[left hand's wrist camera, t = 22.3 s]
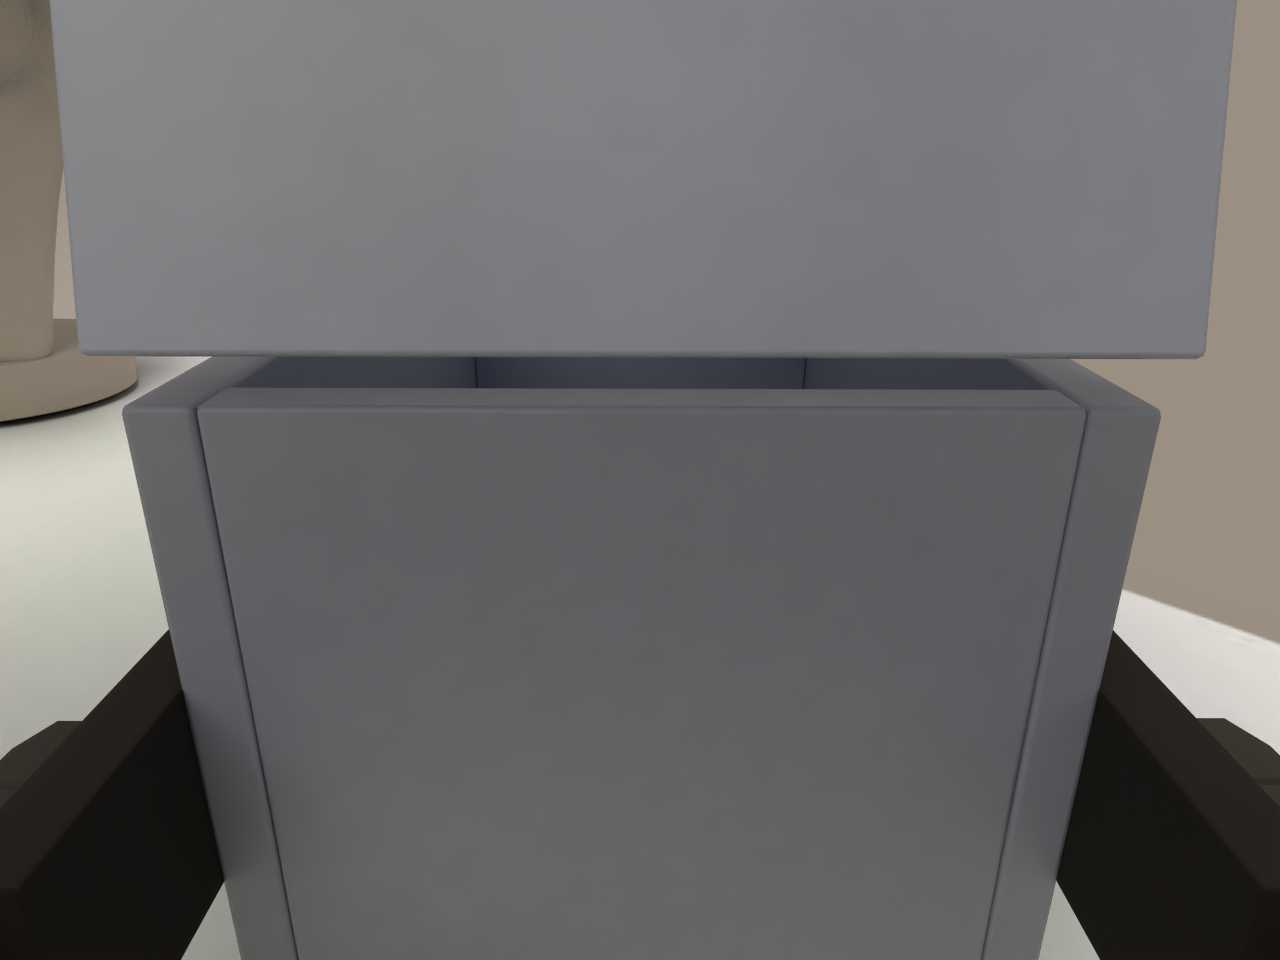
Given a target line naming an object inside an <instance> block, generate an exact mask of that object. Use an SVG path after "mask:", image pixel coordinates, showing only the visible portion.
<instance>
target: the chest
mask: <svg viewBox="0 0 1280 960" xmlns="http://www.w3.org/2000/svg"><path fill="white" fill-rule="evenodd" d="M122 415H123V420H124V425H125V429H126V434H127V438H128V443H129V447H130V452H131V457H132V461H133V466H134V470H135V475H136V480H137V484H138V489H139V493H140V498H141V502H142V507H143V512H144V516H145V521H146V525H147V530H148V534H149V539H150V544H151V548H152V553H153V557H154V562H155V566H156V571H157V576H158V580H159V585H160V589H161V594H162V598H163V603H164V608H165V612H166V617H167V621H168V626H169V630H170V635H171V640H172V644H173V649H174V653H175V658H176V663H177V667H178V672H179V676H180V681H181V685H182V690H183V695H184V699H185V704H186V708H187V713H188V717H189V722H190V727H191V731H192V736H193V740H194V745H195V749H196V754H197V759H198V763H199V768H200V772H201V777H202V781H203V786H204V790H205V795H206V799H207V804H208V808H209V813H210V817H211V822H212V826H213V831H214V835H215V840H216V844H217V849H218V854H219V858H220V863H221V867H222V872H223V876H224V882H225V887H226V891H227V896H228V900H229V905H230V910H231V914H232V919H233V923H234V928H235V932H236V937H237V942H238V946H239V951H240V955H241V960H1038V958H1039V954H1040V949H1041V945H1042V940H1043V936H1044V932H1045V927H1046V923H1047V918H1048V914H1049V910H1050V905H1051V901H1052V896H1053V892H1054V887H1055V883H1056V879H1057V874H1058V870H1059V865H1060V861H1061V856H1062V852H1063V848H1064V843H1065V839H1066V834H1067V830H1068V826H1069V821H1070V817H1071V812H1072V808H1073V803H1074V799H1075V795H1076V790H1077V786H1078V781H1079V777H1080V772H1081V768H1082V764H1083V759H1084V755H1085V750H1086V746H1087V741H1088V737H1089V732H1090V728H1091V723H1092V719H1093V714H1094V710H1095V705H1096V701H1097V696H1098V692H1099V688H1100V684H1101V680H1102V675H1103V671H1104V666H1105V662H1106V658H1107V653H1108V649H1109V644H1110V640H1111V635H1112V631H1113V627H1114V622H1115V618H1116V613H1117V609H1118V605H1119V600H1120V596H1121V591H1122V587H1123V582H1124V578H1125V573H1126V569H1127V565H1128V560H1129V556H1130V551H1131V547H1132V543H1133V538H1134V534H1135V529H1136V525H1137V521H1138V516H1139V512H1140V507H1141V503H1142V498H1143V494H1144V489H1145V485H1146V481H1147V476H1148V472H1149V467H1150V463H1151V459H1152V454H1153V450H1154V445H1155V441H1156V436H1157V432H1158V428H1159V423H1160V418H1161V415H1160V411H1159V409H1157V408H1156V407H1154V406H1152V405H1150V404H1149V403H1147V402H1145V401H1143V400H1142V399H1140V398H1138V397H1136V396H1134V395H1133V394H1131V393H1129V392H1127V391H1126V390H1124V389H1122V388H1120V387H1119V386H1117V385H1115V384H1113V383H1112V382H1110V381H1108V380H1106V379H1104V378H1103V377H1101V376H1099V375H1097V374H1096V373H1094V372H1092V371H1090V370H1089V369H1087V368H1085V367H1083V366H1082V365H1080V364H1078V363H1076V362H1074V361H1073V360H1071V359H963V358H610V357H258V356H213V357H211V358H209V359H207V360H206V361H204V362H202V363H200V364H199V365H197V366H195V367H193V368H191V369H190V370H188V371H186V372H184V373H183V374H181V375H179V376H177V377H175V378H174V379H172V380H170V381H168V382H167V383H165V384H163V385H161V386H160V387H158V388H156V389H154V390H152V391H151V392H149V393H147V394H145V395H144V396H142V397H140V398H138V399H136V400H135V401H133V402H131V403H129V404H128V405H126V406H124V408H123V413H122Z"/></svg>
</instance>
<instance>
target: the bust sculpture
mask: <svg viewBox="0 0 1280 960" xmlns="http://www.w3.org/2000/svg"><path fill="white" fill-rule="evenodd" d="M62 174H63V155H62V143H61V131H60V119H59V107H58V95H57V83H56V71H55V59H54V47H53V35H52V23H51V11H50V0H0V421H6V420H13V419H20V418H26V417H31V416H37V415H42V414H48V413H52V412H57V411H61V410H66V409H70V408H74V407H78V406H82V405H85V404H89V403H92V402H95V401H98V400H101V399H104V398H107V397H110V396H112V395H115V394H117V393H119V392H121V391H123V390H125V389H127V388H128V387H130V386H131V385H132V384H134V383H135V381H136V380H137V377H138V375H137V370H136V365H135V360H134V356H86V355H84V354H82V353H80V350H79V346H78V334H77V322H76V319H53V299H54V264H55V245H56V230H57V229H56V228H57V214H58V204H59V196H60V187H61V181H62Z"/></svg>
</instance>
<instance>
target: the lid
mask: <svg viewBox="0 0 1280 960" xmlns="http://www.w3.org/2000/svg"><path fill="white" fill-rule="evenodd" d="M1236 3H1237V0H50V11H51V23H52V35H53V47H54V59H55V71H56V83H57V95H58V107H59V119H60V131H61V143H62V155H63V167H64V179H65V190H66V202H67V214H68V226H69V238H70V250H71V262H72V274H73V286H74V298H75V310H76V322H77V334H78V346H79V350H80V353H82V354H84V355H86V356H258V357H610V358H963V359H1198V358H1200V357H1202V356H1203V355H1204V353H1205V348H1206V337H1207V326H1208V315H1209V304H1210V293H1211V281H1212V270H1213V259H1214V248H1215V237H1216V226H1217V215H1218V203H1219V192H1220V181H1221V170H1222V159H1223V148H1224V137H1225V126H1226V115H1227V103H1228V92H1229V81H1230V70H1231V59H1232V48H1233V37H1234V25H1235V14H1236Z"/></svg>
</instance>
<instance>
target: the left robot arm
mask: <svg viewBox="0 0 1280 960" xmlns="http://www.w3.org/2000/svg"><path fill="white" fill-rule="evenodd" d="M1056 881H1057V882H1058V884H1059V886H1060V888H1061V890H1062V892H1063V893H1064V895H1065V897H1066V899H1067V901H1068V902H1069V904H1070V906H1071V908H1072V910H1073V911H1074V913H1075V915H1076V917H1077V919H1078V920H1079V922H1080V924H1081V926H1082V928H1083V929H1084V931H1085V933H1086V935H1087V937H1088V938H1089V940H1090V942H1091V944H1092V946H1093V948H1094V949H1095V951H1096V953H1097V955H1098V957H1099V958H1100V960H1280V755H1279V754H1278V753H1277V752H1276V751H1275V750H1274V749H1273V748H1272V747H1271V746H1269V745H1268V744H1266V743H1264V742H1263V741H1261V740H1259V739H1258V738H1256V737H1254V736H1253V735H1251V734H1249V733H1248V732H1246V731H1244V730H1243V729H1241V728H1239V727H1238V726H1236V725H1234V724H1233V723H1231V722H1230V721H1228V720H1226V719H1225V718H1195V716H1194V715H1193V714H1192V713H1191V712H1190V711H1189V710H1188V709H1187V708H1186V707H1185V706H1184V705H1183V704H1182V703H1181V702H1180V701H1179V700H1178V698H1177V697H1176V696H1175V695H1174V694H1173V693H1172V692H1171V691H1170V690H1169V689H1168V688H1167V687H1166V686H1165V685H1164V684H1163V683H1162V682H1161V680H1160V679H1159V678H1158V677H1157V676H1156V675H1155V674H1154V673H1153V672H1152V671H1151V670H1150V669H1149V668H1148V667H1147V666H1146V665H1145V664H1144V662H1143V661H1142V660H1141V659H1140V658H1139V657H1138V656H1137V655H1136V654H1135V653H1134V652H1133V651H1132V650H1131V649H1130V648H1129V647H1128V646H1127V644H1126V643H1125V642H1124V641H1123V640H1122V639H1121V638H1120V637H1119V636H1118V635H1117V634H1116V633H1115V632H1114V631H1112V635H1111V640H1110V644H1109V649H1108V653H1107V658H1106V662H1105V666H1104V671H1103V675H1102V680H1101V684H1100V688H1099V692H1098V696H1097V701H1096V705H1095V710H1094V714H1093V719H1092V723H1091V728H1090V732H1089V737H1088V741H1087V746H1086V750H1085V755H1084V759H1083V764H1082V768H1081V772H1080V777H1079V781H1078V786H1077V790H1076V795H1075V799H1074V803H1073V808H1072V812H1071V817H1070V821H1069V826H1068V830H1067V834H1066V839H1065V843H1064V848H1063V852H1062V856H1061V861H1060V865H1059V870H1058V874H1057V879H1056ZM223 882H224V876H223V872H222V867H221V863H220V858H219V854H218V849H217V844H216V840H215V835H214V831H213V826H212V822H211V817H210V813H209V808H208V804H207V799H206V795H205V790H204V786H203V781H202V777H201V772H200V768H199V763H198V759H197V754H196V749H195V745H194V740H193V736H192V731H191V727H190V722H189V717H188V713H187V708H186V704H185V699H184V695H183V690H182V685H181V681H180V676H179V672H178V667H177V663H176V658H175V653H174V649H173V644H172V640H171V635H170V630H168V631H167V632H166V633H165V634H164V635H163V636H162V637H161V638H160V639H159V640H158V641H157V642H156V643H155V645H154V646H153V647H152V648H151V649H150V650H149V651H148V652H147V653H146V654H145V655H144V656H143V657H142V658H141V659H140V660H139V661H138V663H137V664H136V665H135V666H134V667H133V668H132V669H131V670H130V671H129V672H128V673H127V674H126V675H125V676H124V677H123V678H122V679H121V681H120V682H119V683H118V684H117V685H116V686H115V687H114V688H113V689H112V690H111V691H110V692H109V693H108V694H107V695H106V696H105V698H104V699H103V700H102V701H101V702H100V703H99V704H98V705H97V706H96V707H95V708H94V709H93V710H92V711H91V712H90V713H89V714H88V716H87V717H86V718H85V719H84V720H83V721H57V722H55V723H54V724H52V725H51V726H49V727H47V728H46V729H44V730H42V731H41V732H39V733H37V734H36V735H34V736H32V737H31V738H29V739H27V740H26V741H24V742H23V743H21V744H19V745H18V746H16V747H14V748H13V749H11V750H10V751H9V752H8V753H7V754H6V755H5V756H4V757H3V758H2V759H1V760H0V960H181V958H182V957H183V955H184V953H185V951H186V949H187V948H188V946H189V944H190V942H191V940H192V938H193V937H194V935H195V933H196V931H197V929H198V928H199V926H200V924H201V922H202V920H203V919H204V917H205V915H206V913H207V911H208V910H209V908H210V906H211V904H212V902H213V901H214V899H215V897H216V895H217V893H218V891H219V890H220V888H221V886H222V884H223Z"/></svg>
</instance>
